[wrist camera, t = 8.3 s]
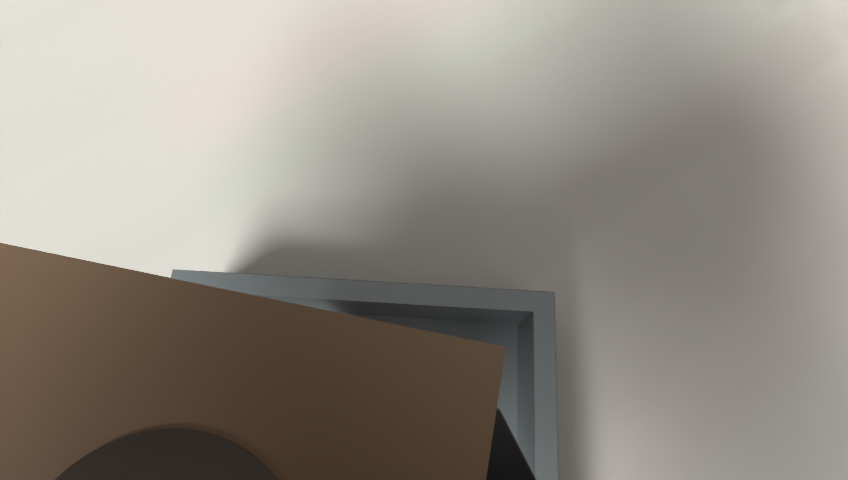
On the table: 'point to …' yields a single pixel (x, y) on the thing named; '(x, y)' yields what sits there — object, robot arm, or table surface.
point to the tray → (451, 315)
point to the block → (225, 384)
